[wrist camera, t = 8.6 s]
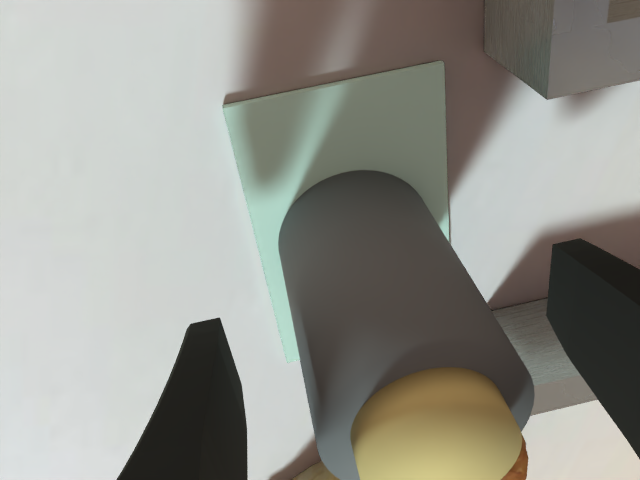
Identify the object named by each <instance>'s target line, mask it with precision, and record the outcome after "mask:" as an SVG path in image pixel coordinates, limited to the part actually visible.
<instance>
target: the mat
mask: <svg viewBox="0 0 640 480" xmlns="http://www.w3.org/2000/svg"><path fill="white" fill-rule="evenodd" d="M222 106H223V112H224V115H225V119H226V123H227V127H228V131H229V135H230V139H231V143H232V147H233V151H234V155H235V159H236V163H237V167H238V171H239V175H240V179H241V183H242V187H243V191H244V195H245V199H246V202H247V206H248V210H249V214H250V218H251V222H252V226H253V230H254V234H255V238H256V242H257V246H258V250H259V254H260V258H261V262H262V266H263V270H264V274H265V278H266V282H267V286H268V290H269V293H270V297H271V301H272V305H273V309H274V313H275V317H276V321H277V325H278V329H279V333H280V337H281V341H282V345H283V349H284V353H285V357H286V361H287V363H288V362H293V361H297V360H300V357H299V352H298V347H297V342H296V337H295V332H294V327H293V322H292V316H291V311H290V306H289V301H288V296H287V291H286V286H285V281H284V276H283V271H282V266H281V261H280V256H279V250H278V239H279V232H280V228H281V225H282V222H283V220H284V218H285V215H286V214H287V212H288V211H289V209H290V207H291V206H292V205H293V204H294V202H295V201H296V200H297V199H298V198H299V197H300V196H301V195H302V194H303V193H304V192H305V191H307V190H308V189H309V188H311V187H312V186H313V185H315V184H317V183H318V182H320V181H322V180H324V179H326V178H328V177H331V176H333V175H337V174H340V173H343V172H349V171H355V170H374V171H380V172H385V173H388V174H391V175H394V176H396V177H398V178H400V179H402V180H404V181H405V182H407V183H408V184H410V185H411V186H412V187H413V188H414V189H415V190H416V191H417V192H418V194H419V195H420V196H421V198H422V199H423V201H424V203H425V204H426V206H427V207H428V209H429V211H430V212H431V214H432V216H433V217H434V219H435V220H436V222H437V224H438V225H439V227H440V229H441V230H442V232H443V233H444V235H445V237H446V238H447V240H448V241H449V218H448V181H447V143H446V106H445V68H444V62H442V61H436V62H432V63H427V64H422V65H417V66H412V67H407V68H402V69H397V70H392V71H387V72H382V73H378V74H373V75H368V76H363V77H358V78H353V79H348V80H343V81H338V82H333V83H328V84H324V85H319V86H314V87H309V88H304V89H299V90H294V91H289V92H284V93H279V94H275V95H270V96H265V97H260V98H255V99H250V100H245V101H240V102H235V103H230V104H225V105H222Z"/></svg>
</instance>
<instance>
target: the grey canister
mask: <svg viewBox="0 0 640 480" xmlns="http://www.w3.org/2000/svg"><path fill="white" fill-rule="evenodd" d="M278 250H279V256H280V261H281V266H282V271H283V276H284V281H285V286H286V291H287V296H288V301H289V306H290V311H291V316H292V322H293V327H294V332H295V337H296V342H297V347H298V352H299V357H300V362H301V367H302V372H303V377H304V382H305V388H306V393H307V398H308V403H309V408H310V413H311V418H312V423H313V428H314V433H315V438H316V443H317V448H318V453H319V455H320V458H321V460H322V462H323V463H324V465H325V466H326V468H327V469H328V470H329V471H330V472H331V473H332V474H333V475H334V476H336V477H337V478H338V479H340V480H501V479H502V478H503V477H504V476H505V475H506V474H507V473H508V471H509V470H510V469H511V468H512V466H513V465H514V463H515V462H516V460H517V458H518V456H519V454H520V451H521V447H522V434H521V431H522V430H523V428H524V426H525V425H526V423H527V421H528V419H529V417H530V415H531V412H532V408H533V405H534V396H535V393H534V384H533V381H532V377H531V375H530V373H529V371H528V370H527V368H526V366H525V365H524V363H523V361H522V360H521V358H520V356H519V355H518V353H517V352H516V350H515V348H514V347H513V345H512V343H511V342H510V340H509V339H508V337H507V335H506V334H505V332H504V331H503V329H502V327H501V326H500V324H499V322H498V321H497V319H496V318H495V316H494V314H493V313H492V311H491V309H490V308H489V306H488V305H487V303H486V301H485V300H484V298H483V297H482V295H481V293H480V292H479V290H478V288H477V287H476V285H475V284H474V282H473V280H472V279H471V277H470V275H469V274H468V272H467V271H466V269H465V267H464V266H463V264H462V263H461V261H460V259H459V258H458V256H457V254H456V253H455V251H454V250H453V248H452V246H451V245H450V243H449V241H448V240H447V238H446V237H445V235H444V233H443V232H442V230H441V229H440V227H439V225H438V224H437V222H436V220H435V219H434V217H433V216H432V214H431V212H430V211H429V209H428V207H427V206H426V204H425V203H424V201H423V199H422V198H421V196H420V195H419V194H418V192H417V191H416V190H415V189H414V188H413V187H412V186H411V185H410V184H408V183H407V182H405V181H404V180H402V179H400V178H398V177H396V176H394V175H391V174H388V173H385V172H380V171H374V170H355V171H349V172H343V173H340V174H337V175H333V176H331V177H328V178H326V179H324V180H322V181H320V182H318V183H317V184H315V185H313V186H312V187H311V188H309V189H308V190H307V191H305V192H304V193H303V194H302V195H301V196H300V197H299V198H298V199H297V200H296V201H295V202H294V204H293V205H292V206H291V207H290V209H289V211H288V212H287V214H286V215H285V218H284V220H283V222H282V225H281V228H280V232H279V239H278Z"/></svg>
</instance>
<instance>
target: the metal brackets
mask: <svg viewBox="0 0 640 480" xmlns="http://www.w3.org/2000/svg"><path fill="white" fill-rule="evenodd" d="M484 52H485V53H486V54H488V55H489V56H490V57H492V58H493V59H494V60H496V61H497V62H498V63H499V64H501V65H502V66H503V67H505V68H506V69H507V70H509V71H510V72H511V73H513V74H514V75H515V76H517V77H518V78H519V79H521V80H522V81H523V82H524V83H526V84H527V85H528V86H530V87H531V88H532V89H534V90H535V91H536V92H538V93H539V94H540V95H542V96H543V97H544V98H545V99H547V100H548V99H553V98H558V97H562V96H567V95H572V94H577V93H582V92H586V91H591V90H596V89H601V88H605V87H610V86H615V85H620V84H624V83H629V82H634V81H639V80H640V0H485V17H484ZM547 301H548V298H546V299H541V300H537V301H533V302H528V303H524V304H520V305H515V306H511V307H507V308H502V309H498V310H493V311H492V313H493V314H494V316H495V318H496V319H497V321H498V322H499V324H500V326H501V327H502V329H503V331H504V332H505V334H506V335H507V337H508V339H509V340H510V342H511V343H512V345H513V347H514V348H515V350H516V352H517V353H518V355H519V356H520V358H521V360H522V361H523V363H524V365H525V366H526V368H527V370H528V371H529V373H530V375H531V377H532V381H533V384H534V393H535V396H534V405H533V408H532V412H531V415H535V414H540V413H544V412H548V411H552V410H556V409H560V408H565V407H569V406H573V405H577V404H581V403H585V402H590V401H594V400H598V399H597V397H596V396H595V395H594V393H593V392H592V390H591V389H590V388H589V386H588V385H587V383H586V382H585V381H584V379H583V378H582V376H581V375H580V373H579V372H578V371H577V369H576V368H575V366H574V365H573V364H572V362H571V361H570V359H569V358H568V356H567V355H566V353H565V351H564V349H563V347H562V345H561V344H560V342H559V340H558V338H557V336H556V334H555V332H554V330H553V328H552V326H551V324H550V322H549V320H548V318H547V317H546V311H547ZM531 415H530V416H531Z"/></svg>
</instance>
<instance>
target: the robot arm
mask: <svg viewBox="0 0 640 480" xmlns="http://www.w3.org/2000/svg"><path fill="white" fill-rule="evenodd" d="M546 317H547V318H548V320H549V322H550V324H551V326H552V328H553V330H554V332H555V334H556V336H557V338H558V340H559V342H560V344H561V345H562V347H563V349H564V351H565V353H566V355H567V356H568V358H569V359H570V361H571V362H572V364H573V365H574V366H575V368H576V369H577V371H578V372H579V373H580V375H581V376H582V378H583V379H584V381H585V382H586V383H587V385H588V386H589V388H590V389H591V390H592V392H593V393H594V395H595V396H596V397H597V399H598V400H599V402H600V403H601V404H602V406H603V407H604V408H605V410H606V411H607V413H608V414H609V415H610V417H611V418H612V420H613V421H614V422H615V424H616V425H617V427H618V428H619V429H620V431H621V432H622V433H623V435H624V436H625V438H626V439H627V440H628V442H629V444H630V445H631V447H632V448H633V450H634V451H635V453H636V454H637V456H638V457H639V459H640V270H639V269H637V268H636V267H634V266H632V265H630V264H628V263H626V262H624V261H623V260H621V259H619V258H617V257H615V256H613V255H611V254H610V253H608V252H606V251H604V250H602V249H600V248H598V247H596V246H594V245H592V244H591V243H589V242H586V241H584V240H582V239H576V240H571V241H567V242H562V243H557V244H553V248H552V258H551V269H550V279H549V290H548V301H547V311H546ZM117 480H247V425H246V417H245V408H244V400H243V392H242V385H241V381H240V378H239V375H238V372H237V369H236V366H235V363H234V360H233V357H232V354H231V351H230V347H229V344H228V341H227V338H226V335H225V332H224V329H223V326H222V323H221V320H220V318H215V319H211V320H206V321H202V322H197V323H193V324H190V326H189V327H188V328H187V331H186V334H185V337H184V340H183V343H182V345H181V348H180V351H179V354H178V356H177V359H176V362H175V364H174V367H173V369H172V372H171V374H170V377H169V379H168V381H167V384H166V386H165V388H164V390H163V393H162V395H161V397H160V399H159V402H158V404H157V406H156V408H155V410H154V412H153V414H152V416H151V418H150V420H149V422H148V424H147V426H146V428H145V430H144V432H143V434H142V436H141V438H140V440H139V442H138V444H137V446H136V447H135V449H134V451H133V453H132V454H131V456H130V458H129V460H128V462H127V463H126V465H125V467H124V468H123V470H122V472H121V473H120V475H119V477H118V478H117Z"/></svg>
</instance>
